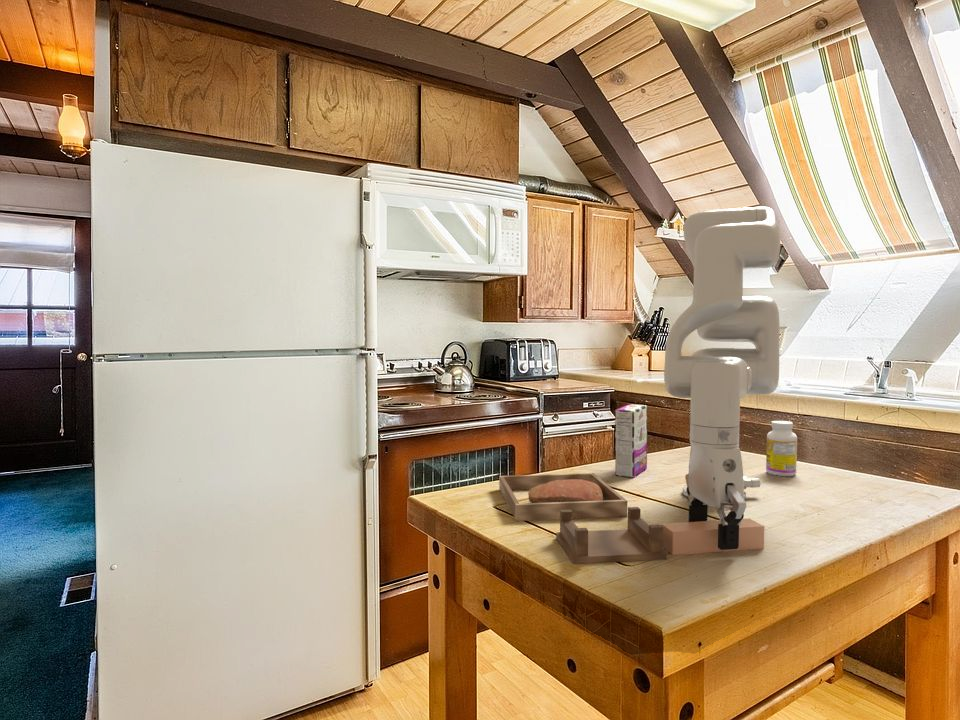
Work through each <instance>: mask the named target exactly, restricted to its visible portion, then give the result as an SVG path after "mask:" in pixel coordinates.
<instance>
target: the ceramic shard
mask: <svg viewBox="0 0 960 720" xmlns="http://www.w3.org/2000/svg"><path fill="white" fill-rule="evenodd" d="M527 495H528V501H529V503H551V502H578V501H604V499H603V494H602V490H601V488H600V487H599V486H598V485H597V484H595V483H593V482H591V481H587V480H582V479H569V480H556V481H551V482H547V483H545V484H541V485H538V486H536V487H534V488H531V489H528V493H527Z"/></svg>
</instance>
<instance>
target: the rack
mask: <svg viewBox="0 0 960 720" xmlns="http://www.w3.org/2000/svg"><path fill="white" fill-rule="evenodd" d="M555 539H556V540H557V542H558V543H559V545H560V546H561V548H562V549H563V551H564V552H565V554H566V555H567V556H568V558H569V560H570V561H571V562H572V564H573V565H574V564H575V565H577V564H593V563H595V564H596V563H597V564H599V563H615V562H617V563H618V562H619V563H620V562H632V561H633V562H637V561H656V560H657V561H658V560H667V559H668V551H667V550H666V549H664V548H663V527H662V526H661V524H649V523H648V522H647V521H645V520H644V519H643V518H641V508H640V507H639V506H630V507H629V506H627V528H626V529H624V528H623V529H604V530H588V528H587V527H579V526H577V525H576V523H575V522H574V521H573V519H572V511H571V510H560V519H559V532H557V531H556V533H555Z"/></svg>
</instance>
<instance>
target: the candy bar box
mask: <svg viewBox="0 0 960 720" xmlns="http://www.w3.org/2000/svg"><path fill="white" fill-rule="evenodd" d="M647 415H648V406H647V405H646V404H645V405H644V404H634V403H633V404H631V403H629V404H627V405H624V406H622V407H620V408H619V407H618V408H617V409H615V411H614V421H615V422H614V424H615V425H614V428H615V430H614V437H615V440H614V441H615V445H614V446H615V449H614V450H615V452H614V454H615V457H614V458H615V459H614V460H615V463H614V464H615V467H614V468H615V476H616V475H620V476H619V477H621V476H627V477H626V478H630V477H633V478H632V479H634V478H636V477H637V476H639V475H640V474H641V473H642V472H644V471H646V469H648V457H647V456H648V448H647V447H648V444H647V443H648V424H647V423H648V416H647ZM639 473H640V474H639ZM635 476H636V477H635Z"/></svg>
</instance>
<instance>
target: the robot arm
mask: <svg viewBox="0 0 960 720" xmlns="http://www.w3.org/2000/svg"><path fill="white" fill-rule="evenodd" d="M780 233H781V232H780V227H779V223H778V219H777V215H776V212H775V210H773V209H772V208H770V207H768V206H754V207H742V208H741V207H739V208H725V209H724V208H723V209H712V210H711V209H710V210H704V211H699V212H696V213H693V214H691V215H689V216H687V217H686V219H685V221H684V223H683V238H684V244H685V248H686V250H687V254H688V257H689V259H690V261H691V264H692V266H693V288H692V302H691V304H690V305H689V306H688V307H687V308H686V309H685V310H684V311H683V312H682V313H681V314H680V315H679V317H677V319H676V320H675V322H674V323H673V324H672V326H671V328H670V330H669V332H668V334H667V338H666V342H665V351H664V352H665V353H664V354H665V355H664V369H663V370H664V371H663V378H664V379H663V381H664V382H663V383H664V387H665V389H666V391H667V392H668V394H669V395H670V396H672V397H675V398H680V399H681V398H682V399H690V409H689V411H690V412H689V414H690V416H689V418H690V419H689V443H690V451H689V461H688V462H689V463H688V473H687V474H686V475H685V479H684V480H685V483H686V485H684V486H683V487H682V494H683V495H684V496H685V497H687V503H688V521H687V522H698V521H708V516H709V515H708V511H709V510H708V507H710V508H712V509H714V510H716V511H717V512H716V513H717V515H718V517H719V520H720V521H721V524H718V548H719V549H720V550H729V549H738V547H739V525H741V520H742V519H744V517H745V515H744V513H745V511H746V508H747V503H746V501H745V500H746V499H747V493H746V491H745V490H746V489H747V488H752V489H753V488H760V487H761V480H760V478H759V477H757V478H755V477H752V478H748V477H747V476H744V467H743V459H742V458H743V457H742V452H741V448H740V421H741V419H740V418H741V415H740V413H741V399H743V398H744V397H745V396H746V395H754V396H755V395H757V396H758V395H760V396H761V395H762V396H763V395H770V394H773V393H774V392H775V391H776V390H777V388H778V385H779V380H780V330H781V329H780V328H781V327H780V313H779V308H778V305H777V303H776V301H775V300H774V299H773V298H771V297H768V296H763V295H753V296H752V295H750V296H747V295H746V296H744V295H743V294H744V291H743V290H744V287H743V285H744V284H743V283H744V280H743V279H744V278H743V277H744V275H743V274H744V270H750V269H751V270H752V269H753V270H755V269H768V268H771V267H774V266H775V265H776V263H777V262H778V260H779V257H780V253H781V252H780V251H781V234H780ZM695 331H696V332H697V335H698V337H699V338H700V339H702V340H704V341H708V342H718V343H719V342H720V343H721V342H722V343H723V342H724V343H750V344H753V345H754V347H755V348H734V347H710V348H701V349H698V350H696V351H694V352H693V353H692V354H691V355H682V349H683V348H682V347H683V344H684V342H685V340H686V339H687V338H688V336H690V335H691V334H692V333H694V332H695ZM725 511H726V512H727V511H730V512H728V514H727V515H726V512H725Z"/></svg>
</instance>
